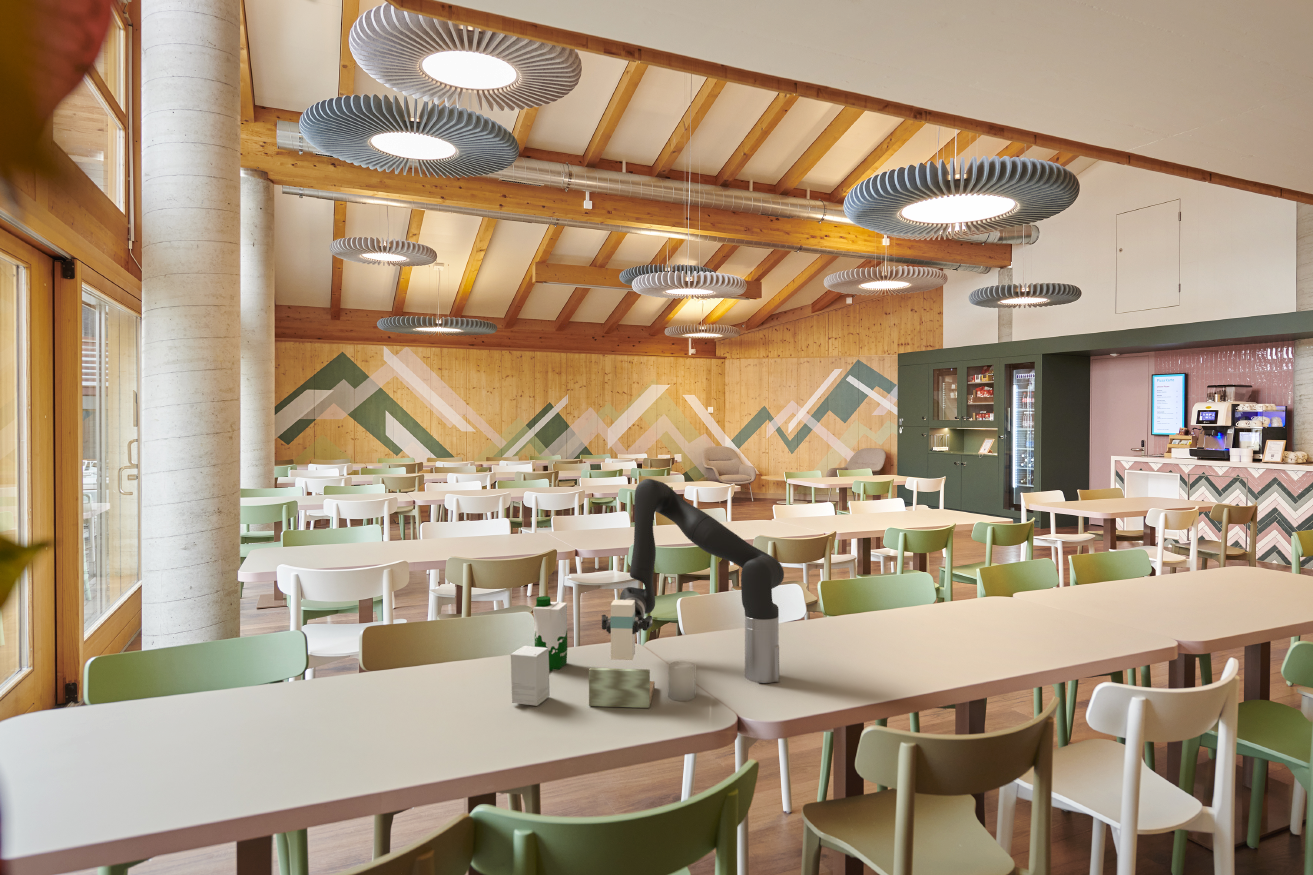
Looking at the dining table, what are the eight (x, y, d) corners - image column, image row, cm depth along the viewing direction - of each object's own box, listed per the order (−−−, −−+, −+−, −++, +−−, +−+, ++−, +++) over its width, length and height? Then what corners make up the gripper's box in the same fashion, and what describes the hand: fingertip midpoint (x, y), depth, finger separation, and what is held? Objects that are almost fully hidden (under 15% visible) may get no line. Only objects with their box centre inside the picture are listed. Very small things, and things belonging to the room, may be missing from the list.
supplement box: (550, 695, 199) (549, 647, 198) (537, 706, 192) (536, 656, 191) (525, 692, 201) (524, 644, 201) (510, 703, 194) (509, 653, 194)
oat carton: (635, 653, 202) (635, 599, 202) (632, 659, 196) (632, 605, 196) (614, 652, 202) (613, 599, 202) (610, 659, 197) (610, 604, 197)
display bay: (654, 688, 205) (654, 654, 205) (649, 707, 191) (649, 671, 191) (598, 686, 206) (598, 653, 206) (589, 705, 192) (588, 669, 192)
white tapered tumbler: (695, 691, 202) (695, 661, 202) (695, 701, 195) (695, 669, 195) (668, 691, 203) (668, 660, 203) (667, 700, 196) (667, 668, 196)
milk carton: (541, 660, 229) (540, 593, 228) (571, 662, 227) (570, 595, 226) (531, 670, 220) (530, 601, 219) (561, 672, 218) (560, 602, 218)
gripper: (604, 599, 214) (593, 614, 197) (656, 600, 213) (649, 615, 196) (604, 626, 214) (593, 643, 197) (656, 627, 213) (649, 645, 196)
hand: (621, 629), depth 197 cm, fingers closed on oat carton, 5 cm apart
